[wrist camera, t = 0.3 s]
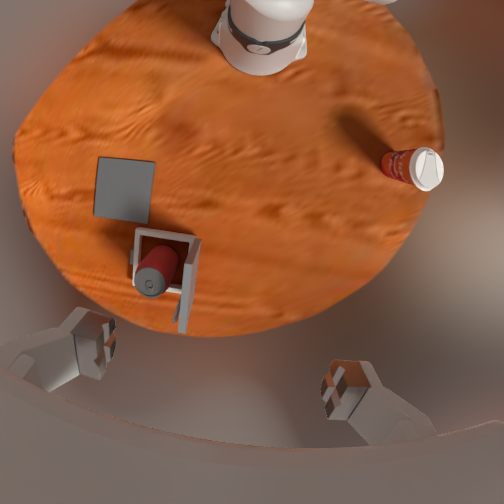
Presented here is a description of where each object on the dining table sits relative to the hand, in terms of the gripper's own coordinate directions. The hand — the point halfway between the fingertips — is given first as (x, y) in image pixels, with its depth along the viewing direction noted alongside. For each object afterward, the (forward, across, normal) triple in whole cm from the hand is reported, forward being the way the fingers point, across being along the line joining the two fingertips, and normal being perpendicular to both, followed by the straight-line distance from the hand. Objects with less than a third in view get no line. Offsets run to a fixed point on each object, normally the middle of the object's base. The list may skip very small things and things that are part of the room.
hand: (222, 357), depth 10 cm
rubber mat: (+46, +23, +4) cm, 52 cm away
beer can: (+47, +12, +17) cm, 51 cm away
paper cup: (+50, -30, -13) cm, 59 cm away
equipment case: (+46, +12, +17) cm, 51 cm away
